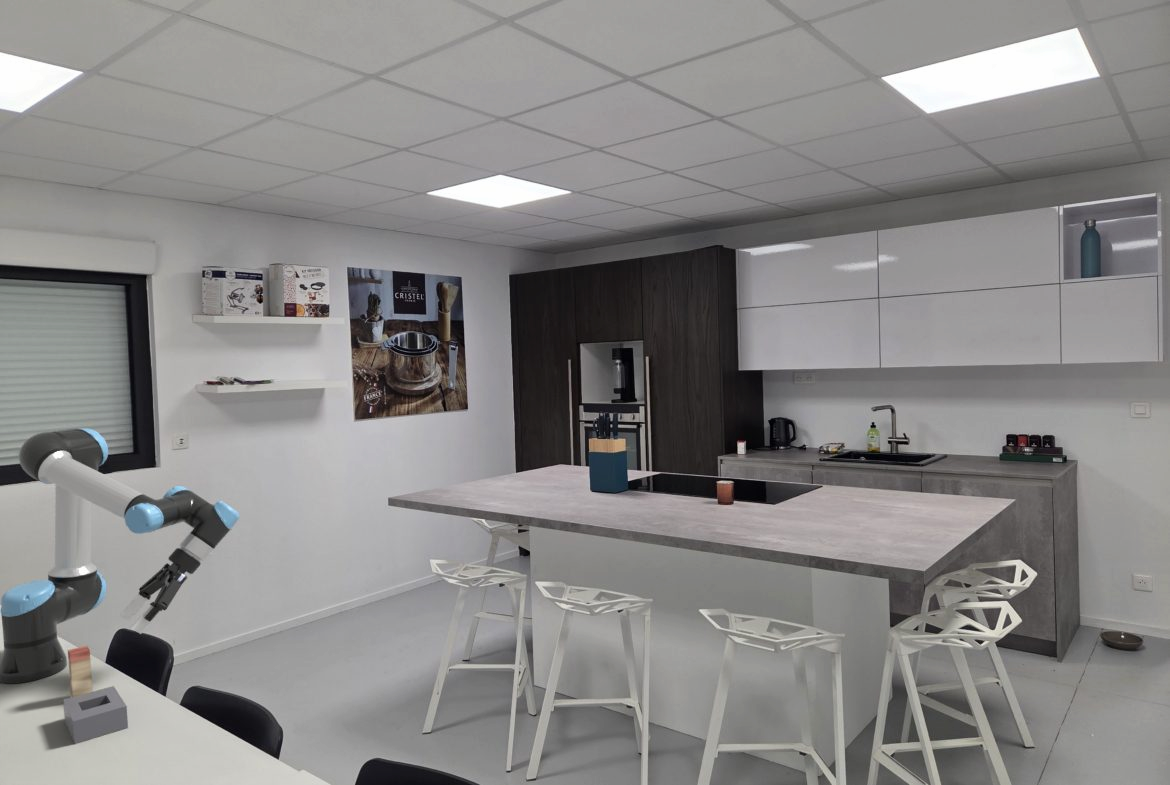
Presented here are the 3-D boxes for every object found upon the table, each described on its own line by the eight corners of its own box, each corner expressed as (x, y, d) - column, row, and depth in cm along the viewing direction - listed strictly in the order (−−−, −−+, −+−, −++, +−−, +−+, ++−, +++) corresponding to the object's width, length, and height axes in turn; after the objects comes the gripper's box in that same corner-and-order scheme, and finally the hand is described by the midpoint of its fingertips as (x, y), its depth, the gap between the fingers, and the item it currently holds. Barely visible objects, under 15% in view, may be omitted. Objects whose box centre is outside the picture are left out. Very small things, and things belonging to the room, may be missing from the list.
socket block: (64, 720, 174) (63, 699, 174) (114, 706, 181) (113, 685, 180) (74, 744, 163) (73, 721, 163) (128, 727, 169) (126, 706, 169)
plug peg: (71, 697, 186) (67, 650, 186) (90, 692, 189) (86, 645, 189) (73, 702, 183) (70, 654, 183) (92, 697, 186) (89, 649, 186)
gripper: (215, 570, 195) (153, 644, 185) (189, 554, 213) (131, 620, 204) (191, 554, 191) (127, 628, 182) (166, 539, 210) (107, 606, 200)
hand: (129, 624), depth 193 cm, fingers open, 13 cm apart
